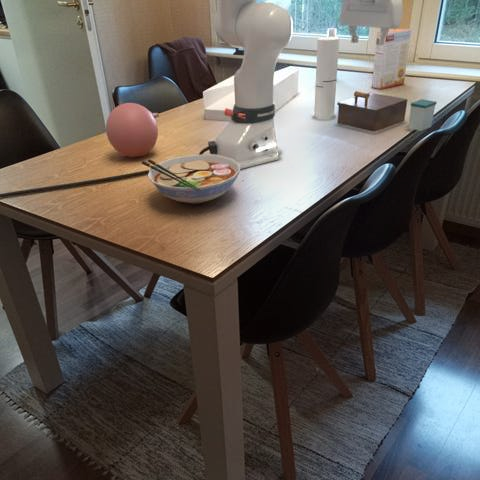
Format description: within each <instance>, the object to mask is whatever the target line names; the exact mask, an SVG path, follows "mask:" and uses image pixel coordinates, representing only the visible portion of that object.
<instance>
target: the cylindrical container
mask: <svg viewBox="0 0 480 480" xmlns="http://www.w3.org/2000/svg"><path fill="white" fill-rule="evenodd" d="M339 49H340V37H338V36H337V37H327V36H324V37H318V38H317V45H316V63H315V64H316V67H315V85H314V86H315V87H314V88H315V89H314V113H313V116H314V117H315V118H320V119H328V118H332V117H334V116H335V107H336V106H335V105H336V93H337V77H338V65H339V64H338V62H339V52H340V51H339Z"/></svg>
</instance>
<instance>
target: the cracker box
mask: <svg viewBox="0 0 480 480" xmlns="http://www.w3.org/2000/svg"><path fill="white" fill-rule="evenodd" d="M381 34H382V32H380V31H378V32H376V38H375V48H374V60H373V71H372V83H371V88H374V89H379V90H383V89H388V88H391V87H396V86H401V85H404V84H405V78H406V70H407V66H408V65H407V64H408V56H409V49H410V42H411V41H410V40H411V34H412V29H411V28H406V27H405V28H404V27H402V28H401V27H400V28H394V29H389V32H388V33H387V35H386V37H385V38H384V44H383V45H381V46H380V45H376V43H377V39H378V38H380V36H381Z"/></svg>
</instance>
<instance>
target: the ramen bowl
mask: <svg viewBox="0 0 480 480" xmlns="http://www.w3.org/2000/svg"><path fill="white" fill-rule="evenodd" d="M141 165H144V166H146V167H148V168H150V169H149V170H150V171H149V174H147V177H148V178H149V180H150V181H151V183H152V184H153V185H154V187H155V188H156V189H157V190H158V191H159V192H160V193H161V194H162V195H163V196H165V197H166V198H169V199H170V200H173V201H176V202H180V203H187V204H193V205H195V204H204V203H206V202H208V201H212V200H215V199H216V198H218V197H221V196H222V195H224V194H226V193H227V191H229V189H230V188H231V187H232V186H233V185H234V183H235V182H236V180H237V179H238V177H239V174H240V172H241V169H240V165H239V164H238V163H237V162H236V161H234V160H233V159H230V158H227V157H223V156H218V155H211V154H207V153H206V154H205V153H203V154H202V155H199V154H188V155H182V156H177V157H171V158H169V159H166V160H164V161H161V162H158V163H157V162H155V161H154V160H152V159H151V158H149V159H147V161H145V160H142V161H141Z"/></svg>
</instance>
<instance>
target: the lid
mask: <svg viewBox="0 0 480 480" xmlns="http://www.w3.org/2000/svg"><path fill="white" fill-rule="evenodd" d="M405 102H407V103H408V98H403V97H399V96H398V97H397V96H392V95H387V94H380V93H375V92H363V91H359V90H355V91H354V93H353V97H350V98H347V99H345V100H341V101H338V102H336V104H337V105H336V106H339V105H340V106H345V107H350V108H355V109H360V110H365V111H369V112H374V113H376V112H379V111H382V110H385V109H388V108H390V107H393V106H396V105H399V104H402V103H405Z"/></svg>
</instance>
